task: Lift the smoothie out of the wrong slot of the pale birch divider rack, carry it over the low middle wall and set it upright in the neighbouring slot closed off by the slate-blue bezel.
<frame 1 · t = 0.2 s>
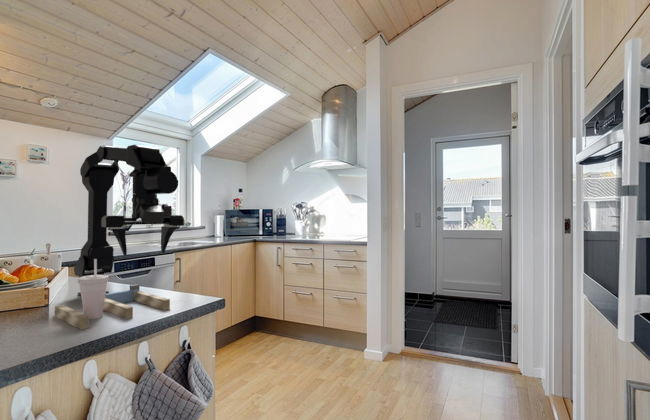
hand: (144, 254, 95), 14 cm above the countertop, fingers open, 9 cm apart
smoothie: (93, 317, 88), on the countertop
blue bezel: (118, 302, 101), on the countertop
divider rack: (114, 312, 92), on the countertop
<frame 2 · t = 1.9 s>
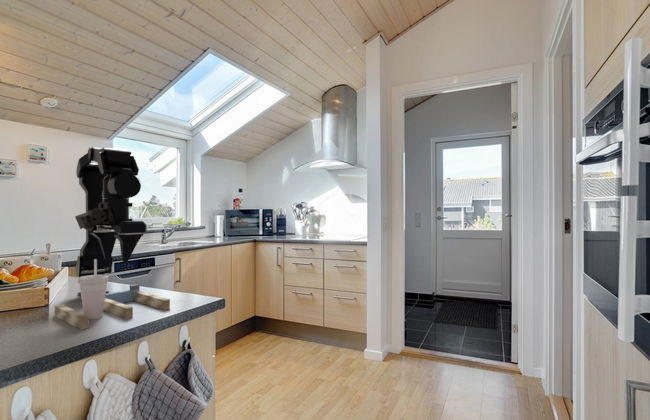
hand: (116, 260, 92), 13 cm above the countertop, fingers open, 9 cm apart
nothing on the countertop moved.
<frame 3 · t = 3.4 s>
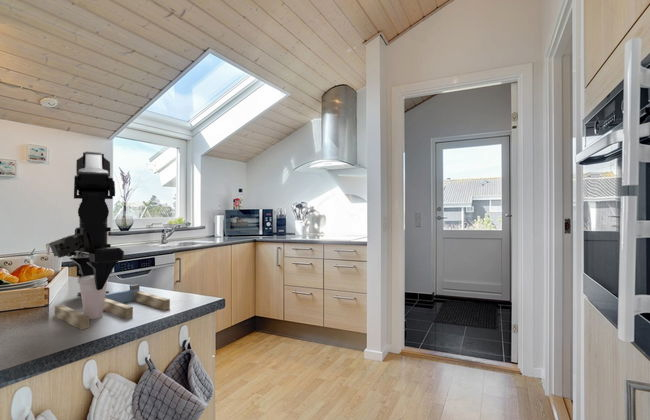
hand: (93, 287, 88), 7 cm above the countertop, fingers closed on smoothie, 6 cm apart
smoothie: (93, 317, 88), on the countertop, touching gripper
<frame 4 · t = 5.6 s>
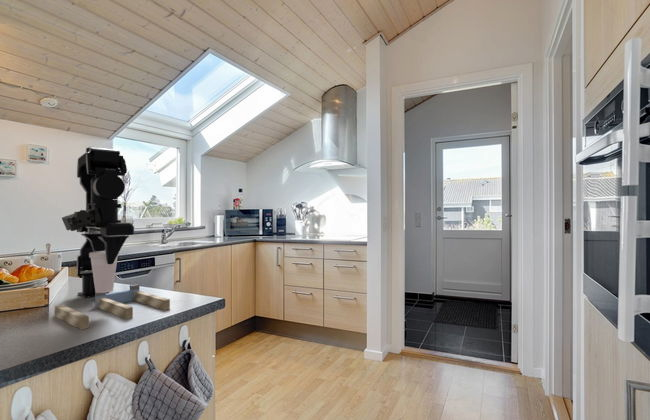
hand: (104, 262, 90), 13 cm above the countertop, fingers closed on smoothie, 6 cm apart
smoothie: (104, 291, 90), point 6 cm above the countertop, touching gripper
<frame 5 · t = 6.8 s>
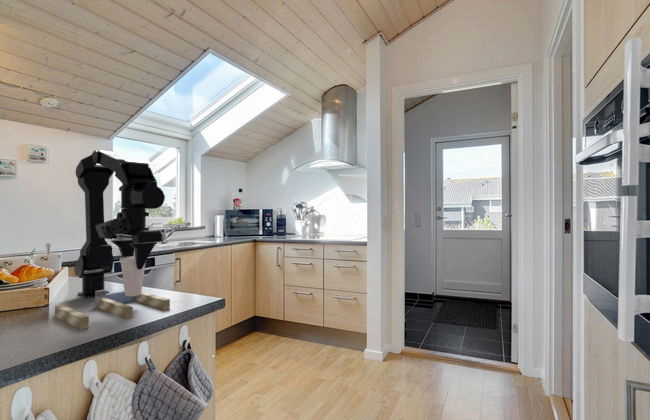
hand: (133, 267, 96), 11 cm above the countertop, fingers closed on smoothie, 6 cm apart
smoothie: (133, 295, 96), point 3 cm above the countertop, touching gripper
when the fingers open (8 cm above the countertop, at t = 7.8 s): smoothie stays where it is, on the countertop.
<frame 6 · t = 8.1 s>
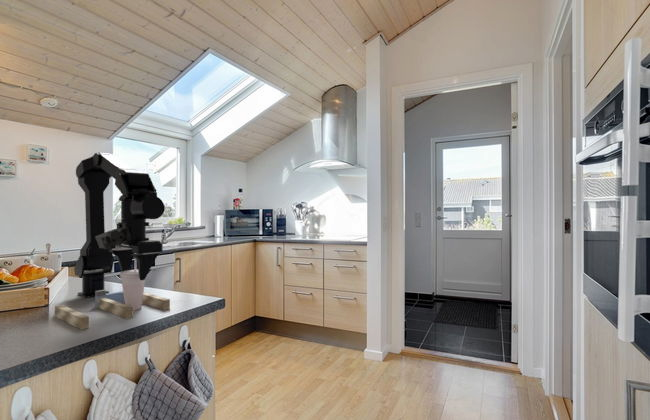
hand: (133, 277, 96), 8 cm above the countertop, fingers open, 9 cm apart
smoothie: (133, 309, 96), on the countertop
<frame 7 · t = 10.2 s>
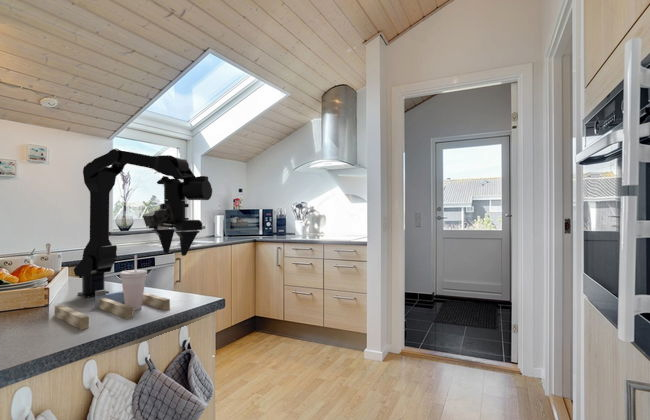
hand: (174, 254, 105), 13 cm above the countertop, fingers open, 9 cm apart
nothing on the countertop moved.
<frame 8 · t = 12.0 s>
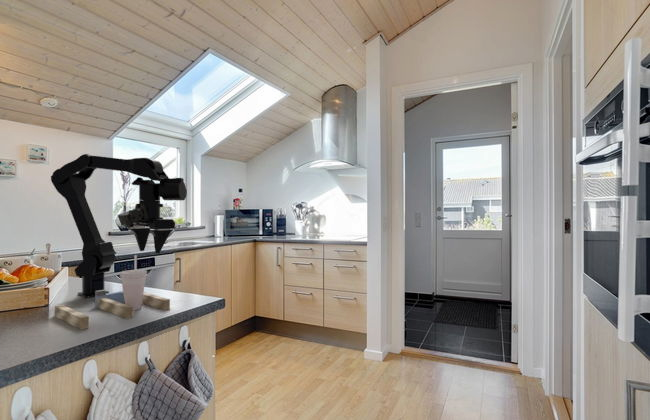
hand: (149, 252, 111), 13 cm above the countertop, fingers open, 9 cm apart
nothing on the countertop moved.
at the end: smoothie 0.1 cm from the target spot, on the countertop; smoothie tilted 0°; the gripper is holding nothing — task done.
